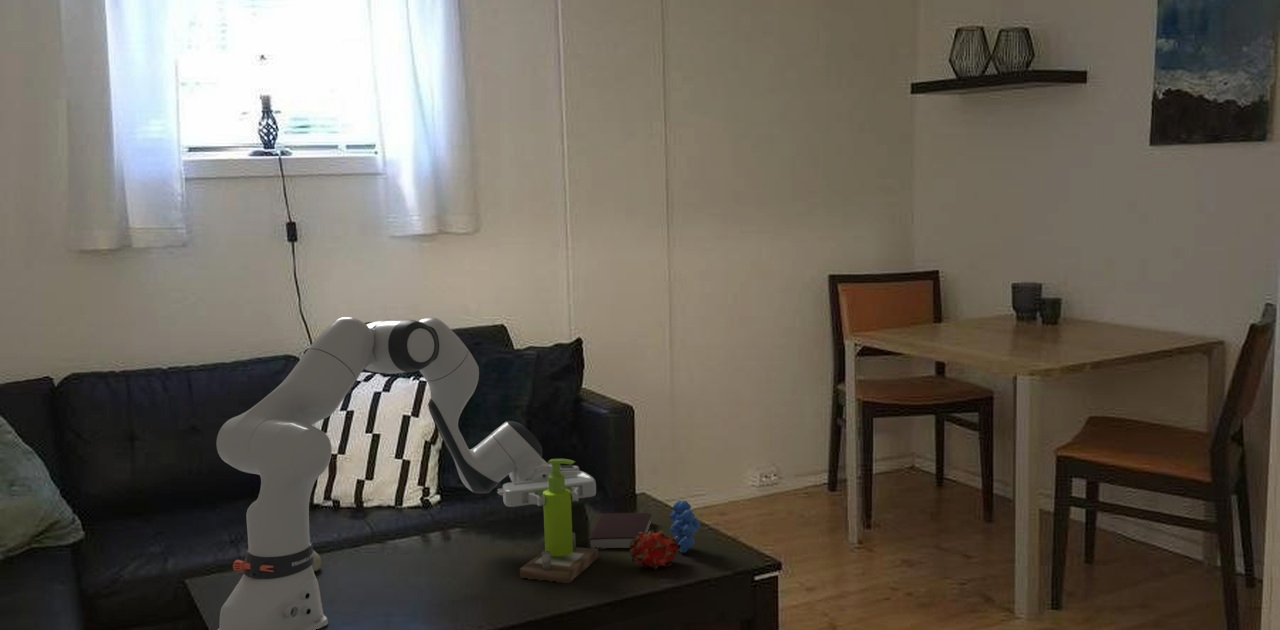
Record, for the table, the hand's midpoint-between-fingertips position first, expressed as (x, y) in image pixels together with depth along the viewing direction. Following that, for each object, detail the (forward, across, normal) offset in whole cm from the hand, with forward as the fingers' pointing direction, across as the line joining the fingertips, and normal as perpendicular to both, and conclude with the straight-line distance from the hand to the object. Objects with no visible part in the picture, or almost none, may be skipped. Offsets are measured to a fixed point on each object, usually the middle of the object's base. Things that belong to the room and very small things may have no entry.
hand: (558, 499), depth 236 cm
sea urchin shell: (-22, -52, +16) cm, 58 cm away
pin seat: (-1, 0, +15) cm, 15 cm away
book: (-16, +19, +16) cm, 30 cm away
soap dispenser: (-1, 0, +12) cm, 12 cm away
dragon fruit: (+6, +19, +15) cm, 25 cm away
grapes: (+1, +28, +15) cm, 32 cm away
